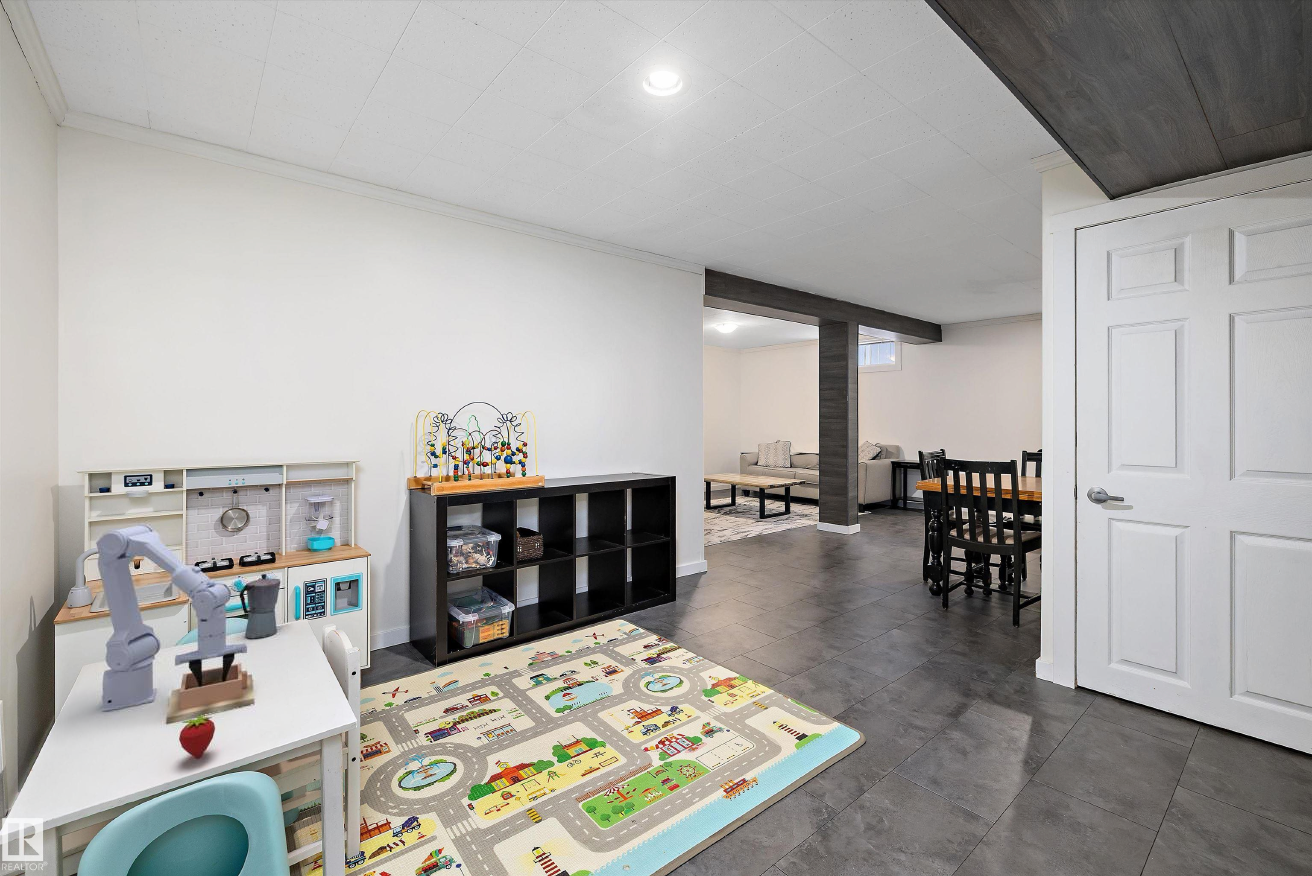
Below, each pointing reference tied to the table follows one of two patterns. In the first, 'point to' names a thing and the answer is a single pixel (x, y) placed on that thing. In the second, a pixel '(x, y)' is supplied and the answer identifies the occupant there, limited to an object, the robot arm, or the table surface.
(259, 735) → the table surface
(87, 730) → the table surface
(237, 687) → the shallow wooden crate
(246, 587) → the moka pot
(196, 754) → the strawberry
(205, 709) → the light wood rectangular frame
